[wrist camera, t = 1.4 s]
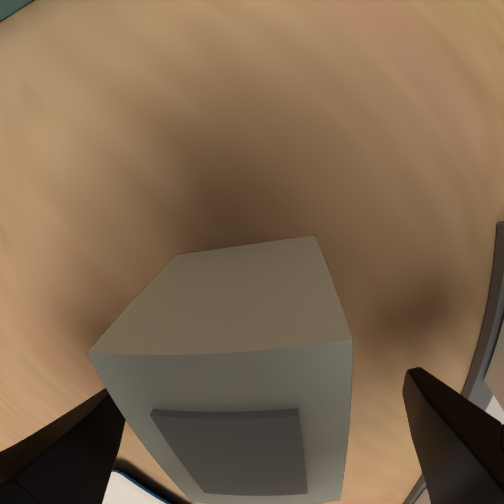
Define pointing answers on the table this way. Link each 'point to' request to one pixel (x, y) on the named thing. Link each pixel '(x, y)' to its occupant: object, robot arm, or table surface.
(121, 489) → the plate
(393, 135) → the table surface
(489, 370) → the mounted module
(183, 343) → the block
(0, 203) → the table surface
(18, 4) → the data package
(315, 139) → the table surface
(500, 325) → the rail plate
